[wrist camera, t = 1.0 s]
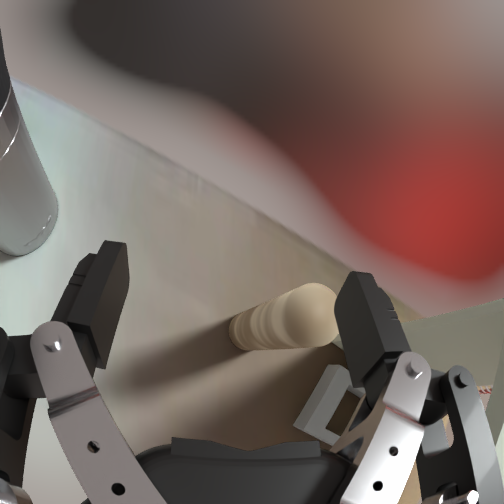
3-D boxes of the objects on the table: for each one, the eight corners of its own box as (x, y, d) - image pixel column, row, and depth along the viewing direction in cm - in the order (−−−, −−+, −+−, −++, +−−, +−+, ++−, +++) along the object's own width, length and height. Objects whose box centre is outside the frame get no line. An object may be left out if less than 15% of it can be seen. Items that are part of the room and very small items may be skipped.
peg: (220, 335, 30) (274, 323, 18) (242, 304, 32) (306, 270, 19) (252, 357, 31) (325, 358, 18) (272, 326, 32) (351, 306, 20)
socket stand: (278, 433, 29) (468, 507, 8) (335, 334, 34) (527, 290, 13) (352, 468, 30) (519, 514, 8) (397, 380, 35) (563, 366, 14)
